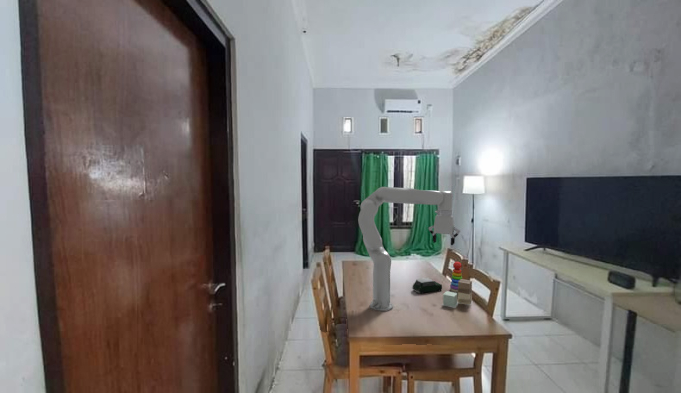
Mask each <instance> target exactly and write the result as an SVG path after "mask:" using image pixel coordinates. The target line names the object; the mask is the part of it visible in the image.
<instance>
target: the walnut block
mask: <svg viewBox="0 0 681 393" xmlns="http://www.w3.org/2000/svg"><path fill="white" fill-rule="evenodd" d="M472 289H473V280H469V279H464V278H462V279H460V280H459V282H458V292H460V293H465V294H470V293H471V292H472V293H473V290H472ZM458 292H457V293H458Z"/></svg>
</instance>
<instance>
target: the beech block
mask: <svg viewBox="0 0 681 393" xmlns="http://www.w3.org/2000/svg"><path fill="white" fill-rule="evenodd" d="M472 301H473V291H472V292H471V293H470V294H465V293H460V292H457V302H458V304H460V303H462V304H461V305H465V304H467V305H466V306H469V305H470V303H471V302H472ZM472 303H473V302H472ZM470 306H471V305H470Z"/></svg>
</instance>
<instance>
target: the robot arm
mask: <svg viewBox="0 0 681 393" xmlns="http://www.w3.org/2000/svg"><path fill="white" fill-rule="evenodd" d="M383 203H386V204H387V203H388V204H390V203H393V204H406V205H408V204H409V205H429V206H437V210H434V213H436V215H435V217H434V222H433V225H431V226H429V227H428V231H429V232H430V234H431V236H432V242H433V244H436V243H437V234H440V235H441V234H442V235H450V236H451V238H450V246H453V245H454V244H455V241H456V238H457V237H458V235H460V232H461V230H460V229H458V228H457V227H455V225H454V224H455V221H454V216H453V192H452V191H450V190H448V191H447V190H442V191H441V190H440V191H439V190H432V189H431V190H428V189H427V190H425V189H424V190H423V189H416V188H409V187H396V186H395V187H394V186H393V187H389V186H381V187H378V188H377V189H376V190H375V191H374V192H372V193H371V194H369V196H367V197H366V198H365V199H364V200H362V202H361V204H360V211H359V214H358V220H357V221H358V222H357V223H358V226H359V228H360V232H361V233H362V234H361V235H362V236H363V237H362V241H363V244H364V246H365V249H366V251H367V254H368V255H369V257H370V259H371V261H372V263H373V267H372V301H371V302H370V303H369V308H370V309H372V310H374V311H378V312H388V311H391V310H392V309H393V307H394V304H393V303H392V302H391V269H392V258H391V256H390V254H389V253H388V251H387V250H386V249H385V248H384V245H383V239H382V237H381V234H380V232H379V230H378V228H377V225H376V223H375V222H376V221H375V217H376V215H377V214H378V211H379V207H380V206H381V205H383Z"/></svg>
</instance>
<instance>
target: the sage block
mask: <svg viewBox="0 0 681 393" xmlns="http://www.w3.org/2000/svg"><path fill="white" fill-rule="evenodd" d="M442 297H443V298H442V304H443V305H442V306H444V305H446V306H445V307H448V306H450V307H449V308H452V307H455V306H456V305H457V302H458V292H453V291H449V290H448V291H447V290H446V291H445V292H444V293H443V296H442ZM457 306H458V305H457ZM457 306H456V307H457Z"/></svg>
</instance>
